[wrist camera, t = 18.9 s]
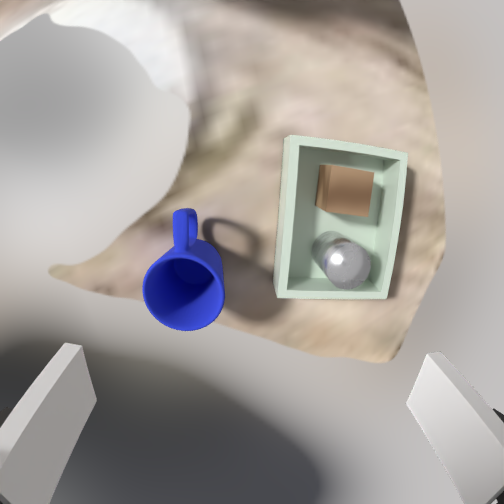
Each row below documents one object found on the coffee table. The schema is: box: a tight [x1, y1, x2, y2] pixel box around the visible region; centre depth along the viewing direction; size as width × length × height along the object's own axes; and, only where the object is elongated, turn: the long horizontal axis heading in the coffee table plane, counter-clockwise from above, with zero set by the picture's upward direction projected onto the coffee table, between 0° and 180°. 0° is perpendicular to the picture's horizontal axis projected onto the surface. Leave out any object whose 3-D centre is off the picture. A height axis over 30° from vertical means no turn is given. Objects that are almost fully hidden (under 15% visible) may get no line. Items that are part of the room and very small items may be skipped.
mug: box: [143, 208, 225, 331], centre depth 33 cm, size 8×12×10 cm
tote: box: [273, 135, 408, 299], centre depth 35 cm, size 18×14×5 cm
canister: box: [311, 231, 371, 290], centre depth 35 cm, size 5×5×7 cm
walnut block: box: [315, 165, 374, 217], centre depth 34 cm, size 5×5×5 cm
